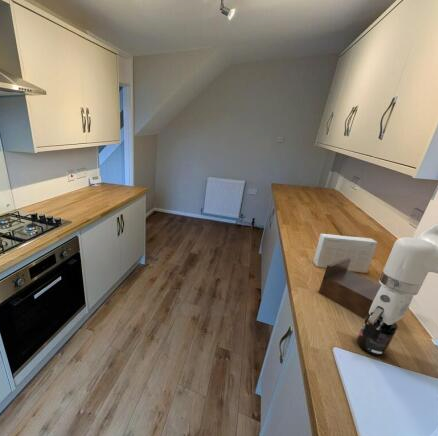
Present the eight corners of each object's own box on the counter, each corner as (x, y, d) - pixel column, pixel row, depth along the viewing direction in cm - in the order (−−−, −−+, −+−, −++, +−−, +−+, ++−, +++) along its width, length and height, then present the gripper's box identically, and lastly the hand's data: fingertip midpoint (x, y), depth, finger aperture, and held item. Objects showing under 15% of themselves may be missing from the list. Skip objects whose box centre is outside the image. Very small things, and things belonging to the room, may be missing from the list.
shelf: (385, 307, 89) (398, 278, 84) (365, 319, 83) (378, 288, 79) (338, 284, 103) (347, 257, 98) (318, 292, 97) (327, 265, 92)
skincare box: (361, 267, 115) (372, 238, 109) (367, 273, 110) (379, 243, 105) (311, 261, 120) (320, 232, 115) (315, 266, 115) (324, 237, 110)
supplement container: (375, 341, 75) (387, 314, 71) (390, 359, 69) (404, 332, 65) (350, 336, 76) (361, 310, 72) (363, 354, 70) (375, 327, 66)
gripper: (402, 299, 57) (376, 353, 64) (433, 282, 64) (407, 332, 70) (365, 282, 64) (345, 333, 70) (396, 268, 71) (376, 315, 77)
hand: (376, 332), depth 70 cm, fingers closed on supplement container, 6 cm apart
